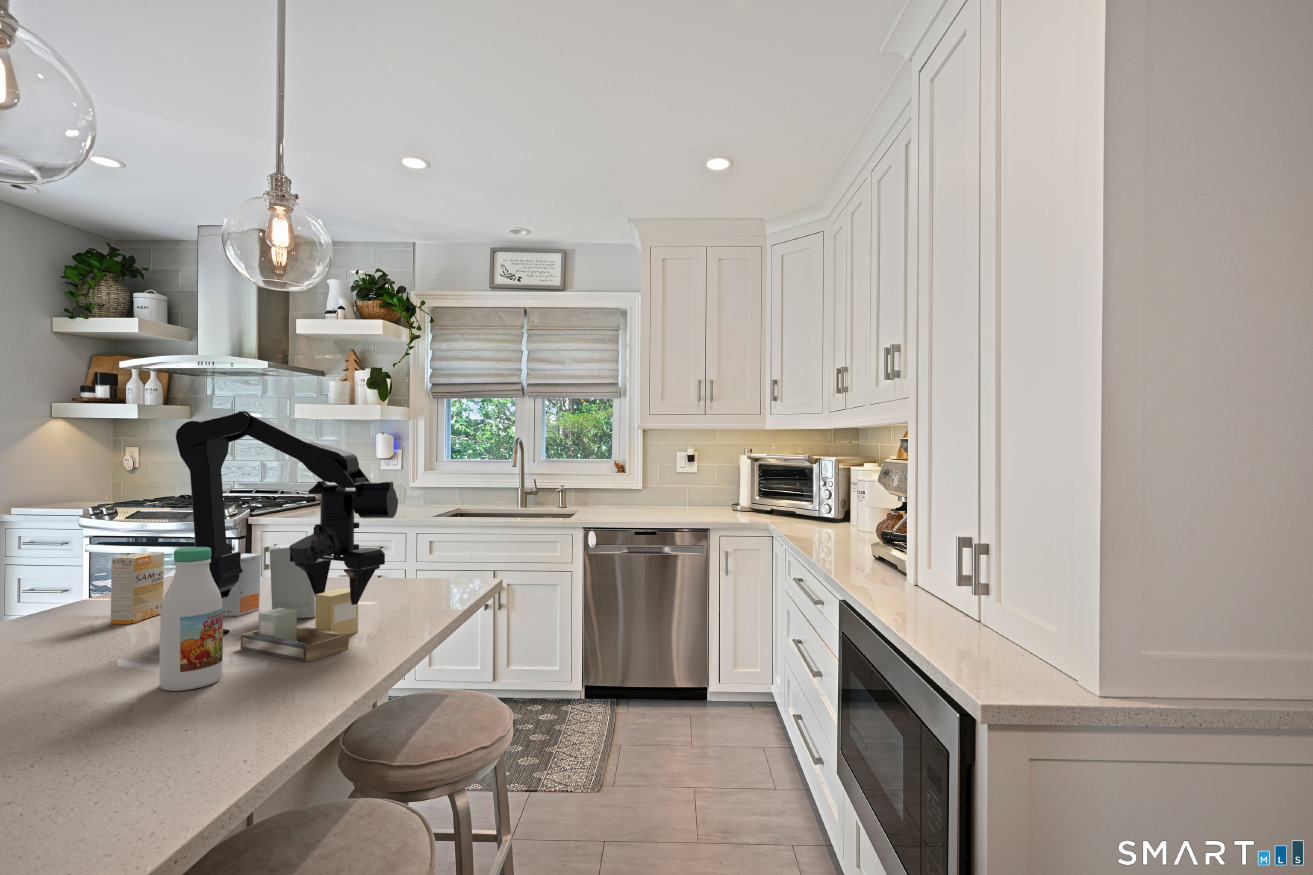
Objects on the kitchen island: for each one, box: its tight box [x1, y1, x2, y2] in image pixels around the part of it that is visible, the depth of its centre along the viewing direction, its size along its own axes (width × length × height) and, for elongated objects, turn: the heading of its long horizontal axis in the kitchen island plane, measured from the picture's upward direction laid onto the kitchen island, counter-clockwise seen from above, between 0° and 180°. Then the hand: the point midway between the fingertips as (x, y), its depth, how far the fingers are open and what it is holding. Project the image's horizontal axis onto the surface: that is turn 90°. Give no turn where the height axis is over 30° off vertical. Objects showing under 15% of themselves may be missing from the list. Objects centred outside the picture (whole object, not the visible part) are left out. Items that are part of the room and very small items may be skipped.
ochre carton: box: [315, 587, 359, 636], centre depth 125 cm, size 4×6×8 cm
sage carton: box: [258, 608, 298, 641], centre depth 118 cm, size 4×4×6 cm
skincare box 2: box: [269, 543, 316, 619], centre depth 138 cm, size 8×6×15 cm
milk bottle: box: [158, 546, 224, 692], centre depth 100 cm, size 8×8×20 cm
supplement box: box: [110, 551, 165, 625], centre depth 136 cm, size 8×5×13 cm, turn 179°
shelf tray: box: [240, 625, 350, 663], centre depth 116 cm, size 17×8×2 cm, turn 65°
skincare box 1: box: [222, 553, 262, 617], centre depth 141 cm, size 6×4×12 cm
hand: (336, 601), depth 125 cm, fingers open, 9 cm apart
